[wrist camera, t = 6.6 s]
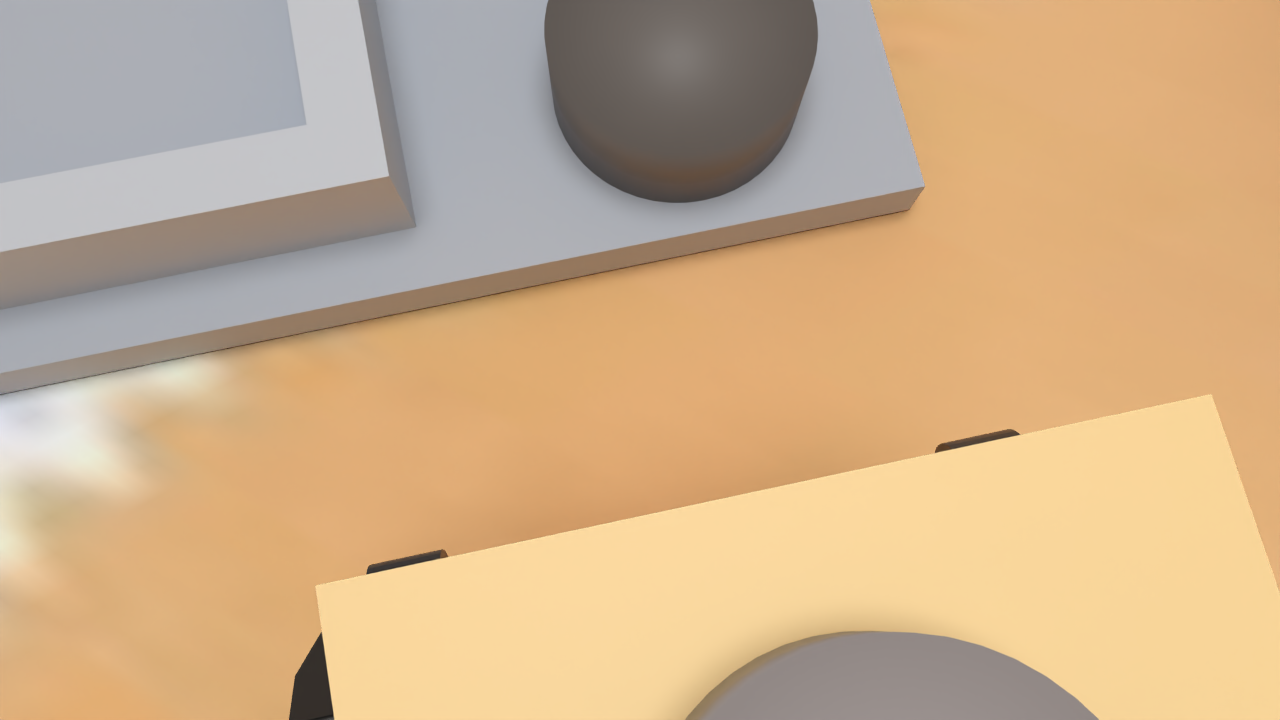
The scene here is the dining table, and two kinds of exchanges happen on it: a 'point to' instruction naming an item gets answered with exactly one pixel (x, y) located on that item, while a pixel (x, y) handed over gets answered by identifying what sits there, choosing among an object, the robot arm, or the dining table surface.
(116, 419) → the dining table surface
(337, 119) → the grey insertion tray
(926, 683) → the tan knobbed block
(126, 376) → the dining table surface
